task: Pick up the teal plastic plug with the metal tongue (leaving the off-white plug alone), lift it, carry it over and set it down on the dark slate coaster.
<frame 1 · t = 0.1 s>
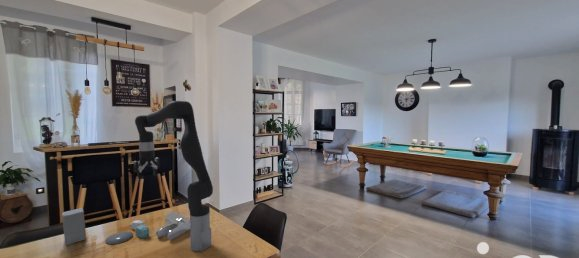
hand: (147, 176, 141), 29 cm above the table, tool pointing down, fingers open, 8 cm apart
slate coaster: (119, 238, 128), on the table
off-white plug: (138, 228, 139), on the table
chrome faucet: (171, 231, 136), on the table
teal plug: (142, 235, 131), on the table
skincare box: (75, 241, 125), on the table
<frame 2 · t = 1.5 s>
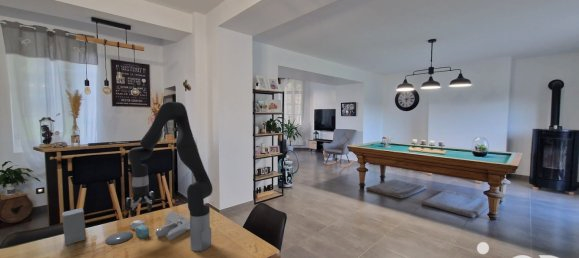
hand: (141, 213, 130), 12 cm above the table, tool pointing down, fingers open, 8 cm apart
nothing on the table moved.
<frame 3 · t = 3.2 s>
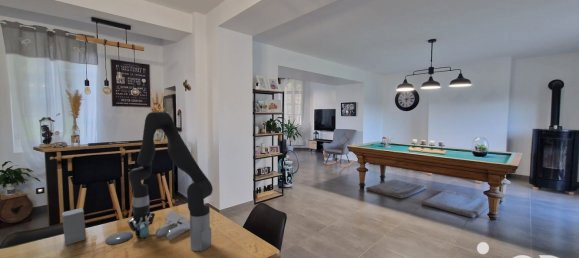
hand: (142, 234, 131), 0 cm above the table, tool pointing down, fingers closed on teal plug, 3 cm apart
teal plug: (142, 235, 131), on the table, tilted 5°, touching gripper
everything else where it was.
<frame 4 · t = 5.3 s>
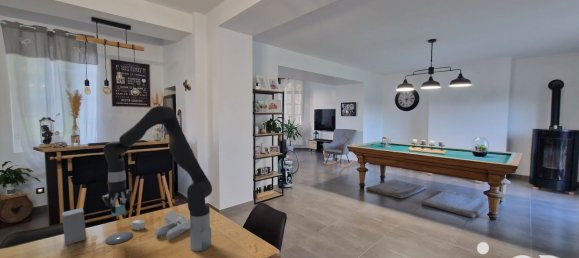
hand: (118, 211, 127), 15 cm above the table, tool pointing down, fingers closed on teal plug, 3 cm apart
teal plug: (118, 214, 127), point 13 cm above the table, tilted 13°, touching gripper
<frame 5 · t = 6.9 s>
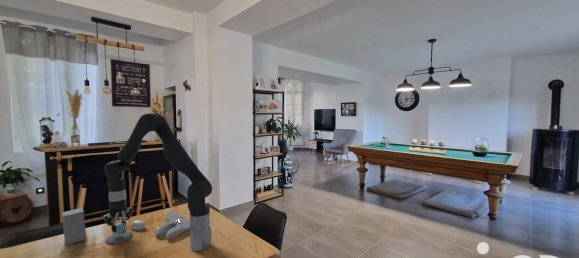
hand: (118, 229, 127), 5 cm above the table, tool pointing down, fingers closed on teal plug, 3 cm apart
teal plug: (119, 233, 127), point 3 cm above the table, tilted 13°, touching gripper
when the fingers open (3 cm above the table, at t = 7.8 s): teal plug stays where it is, resting on slate coaster.
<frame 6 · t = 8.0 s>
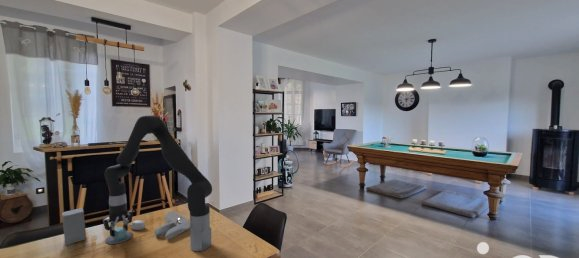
hand: (119, 233, 128), 2 cm above the table, tool pointing down, fingers open, 5 cm apart
teal plug: (119, 237, 127), point 1 cm above the table, touching slate coaster
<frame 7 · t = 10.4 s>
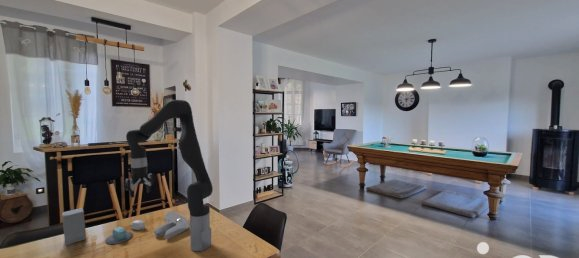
hand: (140, 194, 133), 21 cm above the table, tool pointing down, fingers open, 8 cm apart
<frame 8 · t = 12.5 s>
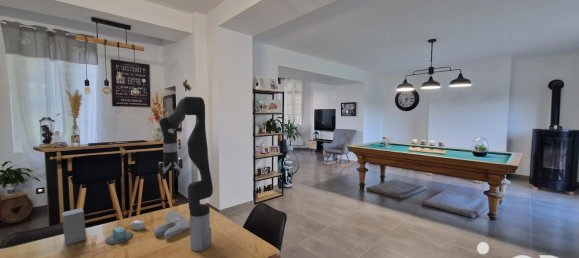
hand: (171, 177, 143), 28 cm above the table, tool pointing down, fingers open, 8 cm apart
at the end: teal plug inside the target area on the slate coaster (0.3 cm from its centre), point 0.6 cm above the slate coaster's base; the gripper is holding nothing; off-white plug moved 0.0 cm from its start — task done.
